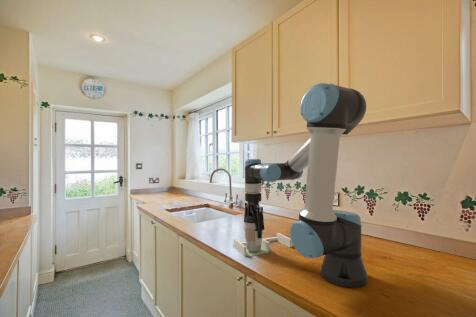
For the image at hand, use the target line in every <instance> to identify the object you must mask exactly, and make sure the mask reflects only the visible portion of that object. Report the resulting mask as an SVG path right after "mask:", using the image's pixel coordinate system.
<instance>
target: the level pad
mask: <svg viewBox="0 0 476 317" xmlns="http://www.w3.org/2000/svg"><path fill="white" fill-rule="evenodd" d="M269 253H270V252H268V251H266V250H265V249H263V248H262V247H261V249H260V250H258V251H250V250H247V248H246V256H245V257H253V256H258V255H265V254H269Z"/></svg>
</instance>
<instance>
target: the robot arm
mask: <svg viewBox="0 0 476 317" xmlns="http://www.w3.org/2000/svg"><path fill="white" fill-rule="evenodd" d="M299 107H300V108H299V111H300V115H301V116H302V118H303V120H304V121H306V127H305V128H306V131H308V132H309V134H310V137H309V138H308V139H307V140H306V141H305V142H304V143H303V144H302V145H301V146H300V147H299V148H298V149H297V150H296V151H295V152H294V153H293V155H291V157H290V158H288V159H287V161H286V162H282V163H281V162H280V163H279V162H278V163H276V162H275V163H274V162H273V163H272V162H271V163H267V162H266V163H262V160H261V159H260V158H253V159H252V158H250V159H249V158H248V159H245V161H244V192H245V193H244V200H245V202H244V214H243V215H244V216H243V219H244V218H246V216H247V215H253V216H254V219H255V226H256V230H255V245H256V246H258V245H262V238H263V232H262V230H263V231H265V229H266V228H265V220H264V207H263V206H260V202H261V201H262V193H261V192H262V186H263V185H262V182H267V183H270V182H271V183H272V182H273V183H274V182H277V181H287V180H288V181H294V180H298V179H301V177H302V176H303V174H304V169H306V168H307V173H306V174H307V175H306V185H305V195H304V196H305V198H304V206H303V208H301V209H300V210H299V212H298V220H295V221H294V222H293V223H292V224H291V225H290V230H289V236H290V237H289V238H290V239H291V241H292V246H293V247H294V249H295V250H296V251H297V252H298V253H299V254H300V255H301V256H302V257H303V258H307V259H315V258H321V257H323V256H324V257H323V259H322V260H323V261H322V263H321V266H320V276H321V277H322V278H323V279H324V280H325V281H327V282H328V283H330V284H333V285H336V286H340V287H344V288H350V289H352V288H353V289H355V288H356V289H357V288H362V287H364V286H366V285H367V284H368V282H369V279H368V273H367V271H366V267H365V264H364V261H363V257H362V222H361V216H360V215H359V214H357V213H355V212H350V211H344V210H336V209H333V208H334V202H335V201H334V200H335V191H336V190H335V189H336V188H335V187H336V181H337V180H336V179H337V178H336V177H337V169H338V159H339V151H340V150H339V148H340V141H341V140H340V139H341V137H342V136H343V135H344V136H347V135H349V133H351V132H352V131H353V130H354V129H355V128H356V127H357V126H358V125H359V123H361V121H362V120H363V118H365V115H366V112H367V101H366V98H365V97H364V95H363V94H362V93H361V92H360V91H358V90H356V89H354V88H348V87H344V86H340V85H337V84H334V83H326V82H324V83H323V82H321V83H317V84H314V85H312V86H311V87H309V89H307V92H305V93H304V95H303V96H302V99H301V102H300V106H299Z"/></svg>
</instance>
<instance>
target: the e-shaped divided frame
mask: <svg viewBox="0 0 476 317" xmlns="http://www.w3.org/2000/svg"><path fill="white" fill-rule="evenodd" d="M271 242H279V243H280V244H283V245H284V246H286V247H287V248H293V243H292V241H291V237H288V236H286V235H284V234H283V233H280V232H276V236H272V237H267V238H266V237H265V238H263V237H262V245H261V247H262V248H263V249H265V250H266V251H268V252H269V253H270V252H271ZM232 247H233V248H234V249H235V250H236V251H237V252H238V253H240V254H241V255H242V256H243V257H247V256H246V241H242V242H240V241H239V240H238V239H235V238H234V239H233V243H232Z"/></svg>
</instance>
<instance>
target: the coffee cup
mask: <svg viewBox="0 0 476 317" xmlns="http://www.w3.org/2000/svg"><path fill="white" fill-rule="evenodd" d="M243 225H244V226H243V228H244V240H245V242H246V248H247V250H250V251H258V250H260V249H261V245H258V246H256V245H255V230H256V226H255V219H254V216H253V215H247V216H246V218H244V217H243ZM263 231H264V230H262V233H263Z"/></svg>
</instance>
